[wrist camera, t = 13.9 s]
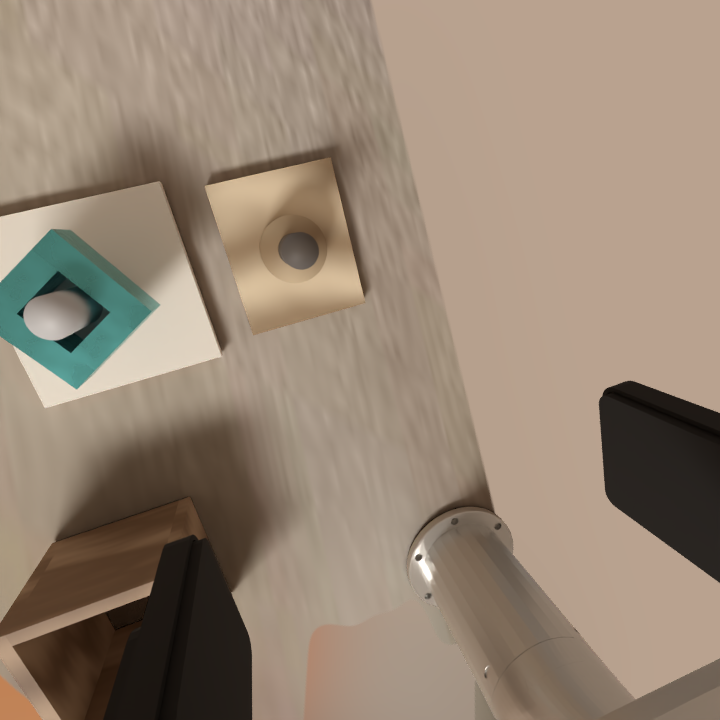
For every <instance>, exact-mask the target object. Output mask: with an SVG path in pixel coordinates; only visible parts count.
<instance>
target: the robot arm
mask: <svg viewBox="0 0 720 720" xmlns="http://www.w3.org/2000/svg"><path fill="white" fill-rule="evenodd" d="M599 410H600V424H601V439H602V452H603V466H604V481H605V492H606V495H607V497H608V499H609V500H610V502H611V503H612V504H613V505H614V506H615V507H617V508H618V509H619V510H621V511H622V512H623V513H625V514H626V515H628V516H629V517H631V518H632V519H633V520H634V521H636V522H637V523H639V524H640V525H641V526H643V527H644V528H645V529H647V530H648V531H650V532H651V533H652V534H654V535H655V536H656V537H658V538H659V539H661V540H662V541H663V542H665V543H666V544H667V545H669V546H670V547H672V548H673V549H674V550H676V551H677V552H678V553H680V554H681V555H682V556H684V557H685V558H687V559H688V560H690V561H691V562H692V563H693V564H695V565H696V566H697V567H699V568H700V569H702V570H703V571H704V572H706V573H707V574H708V575H710V576H711V577H713V578H714V579H715V580H717V581H718V582H720V413H718V412H715V411H713V410H710V409H707V408H704V407H702V406H699V405H696V404H694V403H691V402H688V401H685V400H683V399H680V398H677V397H675V396H672V395H669V394H667V393H664V392H661V391H658V390H656V389H653V388H650V387H647V386H645V385H642V384H639V383H637V382H633V381H627V382H623V383H620V384H618V385H615V386H612V387H609V388H607V389H606V390H605V391H604V392H603V396H602V397H601V398H600V401H599ZM407 575H408V579H409V581H410V584H411V586H412V588H413V590H414V591H415V593H416V594H417V595H418V596H419V598H420V599H421V600H423V601H425V602H426V603H428V604H430V605H433V606H435V607H438V608H439V610H440V612H441V613H442V615H443V617H444V619H445V621H446V623H447V625H448V627H449V629H450V631H451V633H452V635H453V637H454V639H455V641H456V643H457V645H458V646H459V648H460V650H461V652H462V654H463V656H464V658H465V660H466V662H467V664H468V666H469V668H470V670H471V672H472V674H473V676H474V678H475V680H476V682H477V683H478V685H479V687H480V689H481V691H482V693H483V695H484V697H485V699H486V701H487V703H488V705H489V707H490V709H491V711H492V713H493V715H494V717H495V718H496V720H720V659H718V660H716V661H714V662H712V663H710V664H708V665H706V666H704V667H702V668H700V669H698V670H695V671H693V672H691V673H689V674H687V675H685V676H683V677H681V678H679V679H677V680H675V681H673V682H671V683H669V684H667V685H665V686H663V687H661V688H659V689H657V690H655V691H653V692H651V693H648V694H646V695H644V696H642V697H640V698H638V699H635V698H634V697H633V696H632V695H631V694H630V693H629V692H628V691H627V689H626V688H625V687H624V686H623V685H622V684H621V683H620V681H619V680H618V679H617V678H616V677H615V676H614V675H613V673H612V672H611V671H610V670H609V669H608V667H607V666H606V665H605V664H604V663H603V662H602V660H601V659H600V658H599V657H598V656H597V654H596V653H595V652H594V651H593V650H592V649H591V647H590V646H589V645H588V644H587V642H586V641H585V640H584V639H583V638H582V637H581V635H580V634H579V633H578V632H577V630H576V629H575V628H574V627H573V626H572V624H570V622H569V621H568V620H567V619H566V617H565V616H564V615H563V614H562V613H561V611H560V610H559V609H558V608H557V607H556V605H555V604H554V603H553V602H552V601H551V600H550V598H549V597H548V596H547V595H546V594H545V592H544V591H543V590H542V589H541V587H540V586H539V585H538V584H537V583H536V582H535V580H534V579H533V578H532V577H531V576H530V574H529V573H528V572H527V571H526V570H525V569H524V567H523V566H522V565H521V564H520V563H519V561H518V560H517V559H516V558H515V556H514V555H513V540H512V536H511V532H510V531H509V529H508V527H507V526H506V524H505V523H504V522H503V521H502V520H501V518H499V517H498V516H497V515H496V514H495V513H493V512H491V511H489V510H487V509H484V508H480V507H462V508H457V509H454V510H451V511H448V512H446V513H444V514H442V515H440V516H438V517H437V518H435V519H434V520H432V521H431V522H430V523H429V524H428V525H427V526H426V527H425V528H424V529H423V530H422V531H421V532H420V533H419V534H418V536H417V537H416V539H415V540H414V542H413V544H412V546H411V548H410V551H409V554H408V558H407ZM103 720H252V650H251V643H250V638H249V635H248V632H247V629H246V627H245V625H244V623H243V620H242V618H241V616H240V613H239V611H238V609H237V606H236V604H235V602H234V599H233V597H232V595H231V592H230V590H229V588H228V585H227V583H226V581H225V578H224V576H223V574H222V571H221V569H220V567H219V564H218V562H217V560H216V557H215V555H214V553H213V550H212V548H211V546H210V543H209V541H208V540H207V539H206V538H203V539H200V540H198V538H197V537H196V536H195V535H190V536H187V537H184V538H181V539H179V540H176V541H173V542H170V543H167V544H165V545H164V547H163V550H162V553H161V557H160V560H159V564H158V568H157V571H156V575H155V578H154V582H153V585H152V589H151V593H150V596H149V600H148V603H147V607H146V610H145V614H144V618H143V621H142V625H141V627H139V628H136V629H134V630H133V631H132V632H131V633H130V635H129V638H128V640H127V643H126V646H125V649H124V653H123V656H122V659H121V662H120V666H119V669H118V672H117V675H116V679H115V682H114V685H113V689H112V692H111V695H110V698H109V702H108V705H107V708H106V712H105V715H104V718H103Z"/></svg>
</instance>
